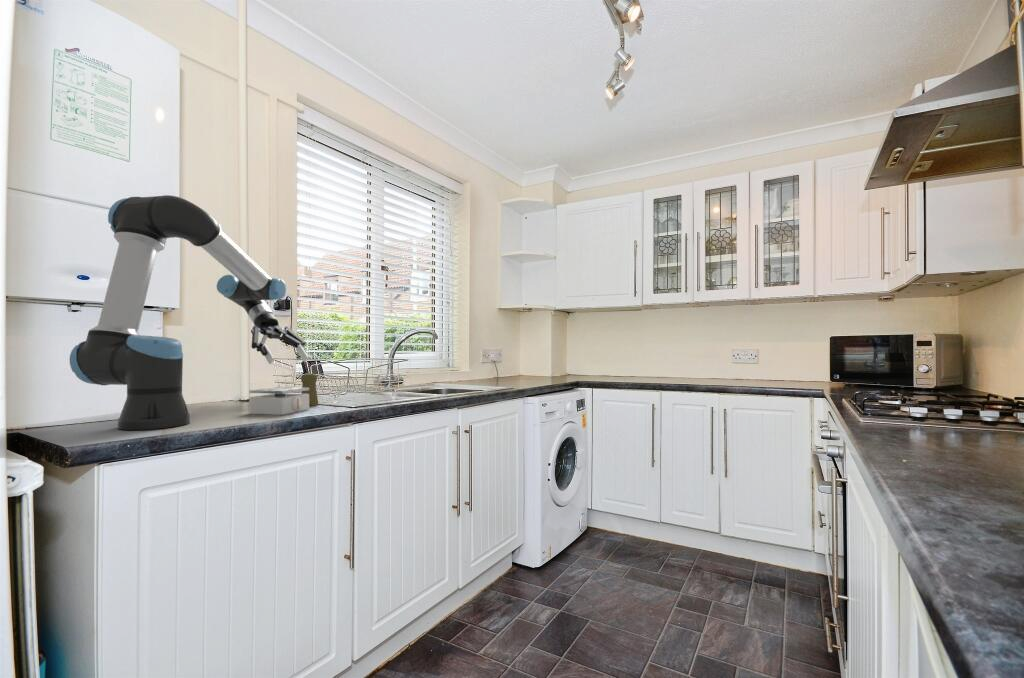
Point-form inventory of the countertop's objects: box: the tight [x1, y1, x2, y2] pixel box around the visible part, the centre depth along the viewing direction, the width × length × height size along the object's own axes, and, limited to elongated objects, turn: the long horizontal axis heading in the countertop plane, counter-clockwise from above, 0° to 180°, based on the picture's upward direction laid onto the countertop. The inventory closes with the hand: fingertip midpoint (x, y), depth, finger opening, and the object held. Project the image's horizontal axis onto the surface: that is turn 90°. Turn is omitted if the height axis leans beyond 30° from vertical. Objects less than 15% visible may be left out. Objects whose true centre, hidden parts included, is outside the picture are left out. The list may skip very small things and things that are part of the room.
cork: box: [300, 372, 319, 407], centre depth 167 cm, size 6×6×11 cm
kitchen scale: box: [248, 392, 310, 416], centre depth 152 cm, size 12×13×6 cm
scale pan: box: [248, 386, 309, 395], centre depth 153 cm, size 12×12×1 cm
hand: (289, 360), depth 173 cm, fingers open, 13 cm apart
